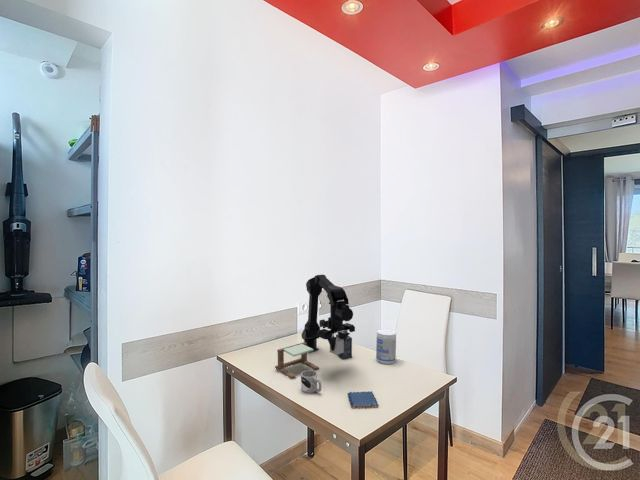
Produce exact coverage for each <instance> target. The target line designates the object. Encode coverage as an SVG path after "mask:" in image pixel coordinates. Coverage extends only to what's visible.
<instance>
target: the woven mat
mask: <svg viewBox="0 0 640 480" xmlns="http://www.w3.org/2000/svg"><path fill="white" fill-rule="evenodd" d="M347 397H348V402H349V404H350V407H351V409H353V410H354V409H357V410H358V409H372V408H374V409H375V408H379V406H380V405H379V403H378V400H377V398H376V397H375V394H374V392H373V391H369V390H368V391H349V392H347Z"/></svg>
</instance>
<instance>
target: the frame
mask: <svg viewBox="0 0 640 480" xmlns="http://www.w3.org/2000/svg"><path fill="white" fill-rule="evenodd" d="M300 344H303V345H306V346H307V343H306V342H304V341H303V342H300V343H297V344H294V345H290V346H286V347H282V348H278V349H277V365H275V366H274V369H275V368H276V369H277V370H276V369H275V370H276V371H278V370H279V371H280V373H281V374H283V375H284V376H286V377H287V376H288V378H289V379H291V380H294V379H296V374H294V373H293V372H291V371H289V370H287V369H286V368H288V366H289V367H292V366H294V365H298V364H302V365H305V366H306V367H309V369H311V370H313V371H319V370H320V367H319V366H318V365H316V364H314V363H313V362H311V361H308V353H304V354H301V355H300V358H298V359H296V358H295V359H294V360H291V361H287V362H284V361H285V352H284V350H283V349H285V348H289V347H292V346H296V345H300ZM291 365H292V366H291ZM279 371H278V372H279Z"/></svg>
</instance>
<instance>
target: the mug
mask: <svg viewBox="0 0 640 480" xmlns="http://www.w3.org/2000/svg"><path fill="white" fill-rule="evenodd" d="M300 391H301V392H302V393H305V394H313V393H315V392H319V393H320V392H321V391H322V380H320V379H319V378H318V372H317V370H314V369H308V370H303V371H302V372H301V373H300Z"/></svg>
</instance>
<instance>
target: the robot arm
mask: <svg viewBox="0 0 640 480" xmlns="http://www.w3.org/2000/svg"><path fill="white" fill-rule="evenodd" d="M305 287H306V291H307V293H308V294H309V298H308V314H307V317H308V318H307V321H306V323H305V324H304V329H303V331H302V332H301V334H300V335H301V340H303V342H306V343H307V346H308V347H310V348H312V349H313V351H311V352H314V351H318V350H319V348H318V347H317V345H318V344H317V342H318V339H322V340H327V341H328V343H329V348H330V347H331V350H332V351H334V348H335V342H336V336H335V335H336V334H338V335H339V338H341V339H343V340H344V342H345V340H346V338H347V337H348V336H350V335H351V333H353V332H356V326H355V325H354V324H352V323H348V322H350V321H351V320H352V319H353V318H354V312H353V309H351V308H350V304H349V303H350V302H349V298H348V295H347V294H346V293H347V292H346V291H345V289H344V288H343V287H341V286H338V285H335V284H334V283H333V282H332V281H331V280H330V279H329V278H327V276H326V275H325V274H316V275H314V276H313V277H311V278H310V279H308V280H307V281H306V283H305ZM323 290H324V291H325V293H326V297H327V299H328V301H329V302H328V304H329V306H330V307H329V308H330V309H329V311H330V315H329V317H328V318H327V320H325V319H324V318H323V319H320V320H319V324H318V310H319V307H318V306H319V296H320V295H321V293H322V292H323ZM343 321H344V322H343ZM345 322H346V323H345ZM321 328H322V329H321ZM311 352H310V353H311Z"/></svg>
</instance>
